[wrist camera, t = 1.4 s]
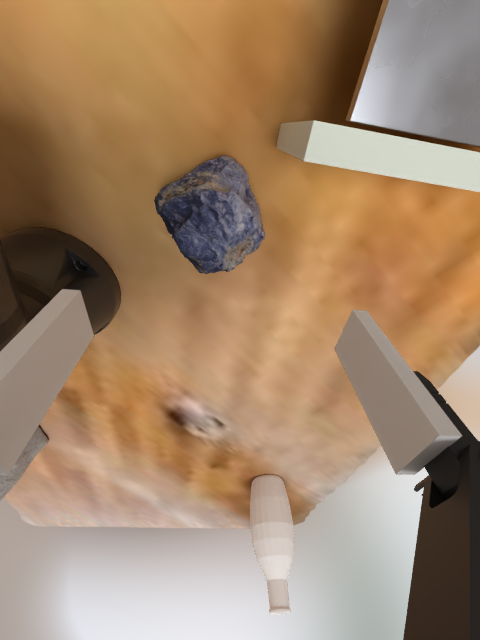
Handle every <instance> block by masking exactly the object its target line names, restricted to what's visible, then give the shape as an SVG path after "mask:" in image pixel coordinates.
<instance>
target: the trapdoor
mask: <svg viewBox="0 0 480 640" xmlns="http://www.w3.org/2000/svg"><path fill="white" fill-rule="evenodd" d="M346 121H349V122H354V123H359V124H364V125H369V126H374V127H380V128H385V129H390V130H395V131H400V132H405V133H410V134H415V135H420V136H425V137H430V138H436V139H441V140H446V141H451V142H456V143H461V144H466V145H471V146H476V147H480V0H383V2H382V5H381V8H380V12H379V15H378V18H377V21H376V24H375V28H374V31H373V34H372V37H371V40H370V44H369V47H368V50H367V53H366V56H365V60H364V63H363V66H362V69H361V72H360V76H359V79H358V82H357V85H356V89H355V92H354V95H353V98H352V101H351V105H350V108H349V111H348V114H347V117H346Z"/></svg>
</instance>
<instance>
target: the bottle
mask: <svg viewBox="0 0 480 640" xmlns="http://www.w3.org/2000/svg"><path fill="white" fill-rule="evenodd" d="M250 529H251V535H252V542H253V547H254V550H255V554H256V557H257V561H258V563H259V565H260V567H261V570H262V572H263V574H264V576H265V578H266V580H267V585H268V594H269V603H270V610H269V611H270V614H288V613H290V612H291V610H290V607H289V597H288V585H287V579H288V575H289V571H290V566H291V563H292V559H293V549H294V526H293V521H292V515H291V510H290V505H289V500H288V497H287V493H286V489H285V486H284V482H283V480H282V479H281V478H280V477H279V476H277V475H270V474H268V475H261V476H258V477H256V478H254V480H253V481H252V486H251V499H250Z"/></svg>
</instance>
